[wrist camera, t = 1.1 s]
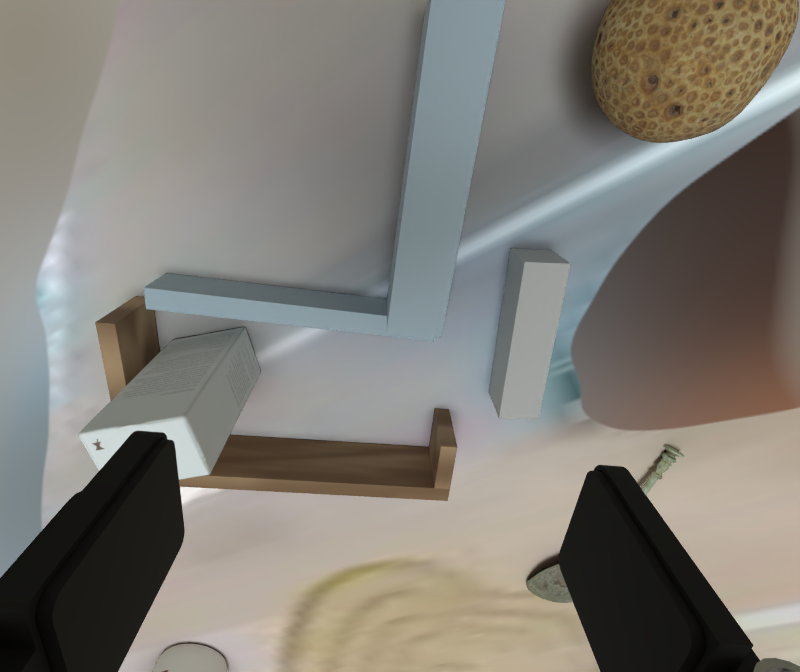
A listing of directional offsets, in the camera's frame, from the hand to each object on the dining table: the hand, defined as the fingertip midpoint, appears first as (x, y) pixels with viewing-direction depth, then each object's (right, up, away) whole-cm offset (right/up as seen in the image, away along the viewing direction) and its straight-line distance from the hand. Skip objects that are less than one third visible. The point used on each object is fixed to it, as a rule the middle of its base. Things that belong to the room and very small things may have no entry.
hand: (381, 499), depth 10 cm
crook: (-6, +15, +20) cm, 25 cm away
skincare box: (-14, +2, +25) cm, 29 cm away
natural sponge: (+15, +21, +18) cm, 31 cm away
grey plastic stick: (+10, +5, +25) cm, 27 cm away
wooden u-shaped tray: (-7, 0, +26) cm, 27 cm away
